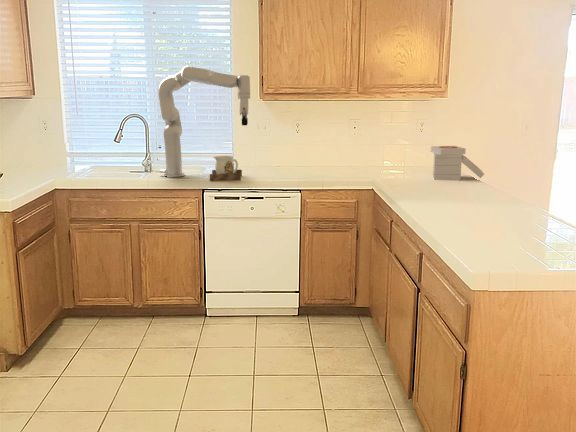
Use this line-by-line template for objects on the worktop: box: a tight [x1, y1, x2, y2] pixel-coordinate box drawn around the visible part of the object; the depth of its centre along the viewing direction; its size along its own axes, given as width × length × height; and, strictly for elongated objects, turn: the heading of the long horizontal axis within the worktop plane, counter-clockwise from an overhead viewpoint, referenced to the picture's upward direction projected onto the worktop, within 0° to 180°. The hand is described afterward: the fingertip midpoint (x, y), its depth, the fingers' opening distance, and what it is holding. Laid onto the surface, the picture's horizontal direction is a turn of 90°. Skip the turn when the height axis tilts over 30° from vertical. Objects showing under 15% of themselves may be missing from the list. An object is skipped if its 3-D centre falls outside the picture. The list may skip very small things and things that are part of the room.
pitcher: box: [212, 155, 239, 174], centre depth 355 cm, size 11×18×14 cm, turn 135°
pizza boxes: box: [430, 145, 485, 181], centre depth 348 cm, size 19×30×18 cm, turn 79°
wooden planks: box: [209, 169, 243, 182], centre depth 356 cm, size 18×17×4 cm
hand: (244, 124), depth 362 cm, fingers open, 9 cm apart
